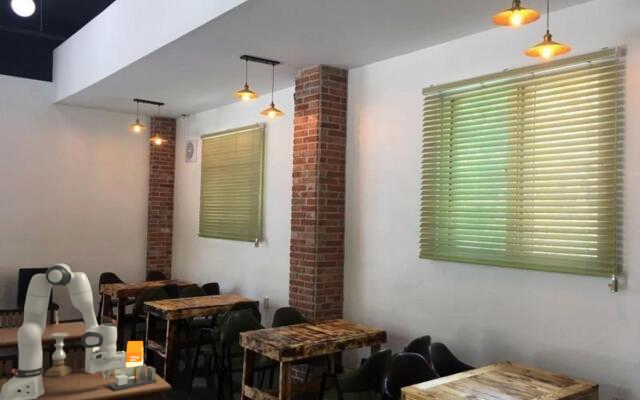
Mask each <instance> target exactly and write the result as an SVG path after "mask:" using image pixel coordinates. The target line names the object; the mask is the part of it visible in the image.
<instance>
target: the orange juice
mask: <svg viewBox="0 0 640 400" xmlns="http://www.w3.org/2000/svg"><path fill="white" fill-rule="evenodd" d="M125 353H126V358H125V360H126V366H125V368H127V367H133V366H139V365H144V341H143V340H139V341H138V340H136V341H135V340H132V341H131V340H129V341H127V346H126V351H125Z"/></svg>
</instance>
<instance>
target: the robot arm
mask: <svg viewBox="0 0 640 400" xmlns="http://www.w3.org/2000/svg"><path fill="white" fill-rule="evenodd" d="M54 286H66V288H67V289H68V293H69V294H68V295H69V298H70V301H71V304H72V306H73V308H76V309H77V310H79V312H81V315H82V317H83V322H84V326H85V331H84V332H83V334H82V335H81V338H80V342H81V345H82V346H83V348H85V349H86V348H94V347H99V350H97V351H94V352H92V353H90V357H91V358H90V359H89V360H88V364H87V371H88V372H89V373H88V374H95V373H100V372H101V374H102V379H103V380H105V379H110V375H111V374H112V372H113V370H116V369H122V368H126V351H124V350H121V351H120V350H119V351H117V340H118V329H117V325H115V324H114V323H111V322H103V323H102V324H99V323H98V321H97V315H96V313H95V312H96V311H95V309H94V299H93V297H94V296H93V290H92V287H91V283H90V280H89V279H88V276H87V274H86V273H85V272H82V271H76V272H73V270H72V267H71V265H70V264H68V263H67V262H58V263H54V264H52V265H51V266H50V267H48V269H47V270H46V272H45V273H38V274H37V273H36V274H34V275H33V276H32V277H31V280H30V281H29V284H28V288H27V292H26V295H25V297H26V298H25V302H24V309H23V310H24V311H23V314H24V315H23V323H22V325H21V326H20V327H19V328H18V331H17V334H16V335H17V336H16V337H17V338H16V339H17V347H18V368H17V369H16V368H12V370H11V373H12V374H13V376H12V378H10V379H9V380H8V381H6V382H5V383H3V385H2V387H1V389H0V400H35V399H38V398H39V397H41V396H42V395H44V394H45V388H44V383H43V382H44V381H43V376H44V365H43V356H44V355H43V346H42V336H43V335H44V333H45V331H46V324H47V316H48V308H49V302H50V296H51V291H52V288H53V287H54ZM94 372H95V373H94ZM106 372H107V374H105V373H106Z"/></svg>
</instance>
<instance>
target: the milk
mask: <svg viewBox="0 0 640 400" xmlns="http://www.w3.org/2000/svg"><path fill="white" fill-rule="evenodd" d="M97 350H99V347H94V348H86V347H85V361H84V362H85V365H84V368H85V369H84V373H88V374H90V373H89V372H88V371H87V364H88V360H89V359H90V358H91V357H90V353H92V352H94V351H97ZM95 373H96V372H94V373H93V374H95Z"/></svg>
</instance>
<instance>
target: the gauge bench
mask: <svg viewBox="0 0 640 400" xmlns="http://www.w3.org/2000/svg"><path fill="white" fill-rule="evenodd" d="M136 370H139V376H138V379H136ZM113 375H114V377H113V380H114V381H113V382H110V383H107V385H108V386H107V387H109V388H110V389H111V390H113V391H114V392H117V391H122V390H127V389H131V388H136V387H137V388H138V387H141V386H147V385H151V384H157V382H158V380H157V379H156V368H155V367H153V366H150V365H148V366H147V364H145V363H143V365H139V366H133V367H127V368H126V367H124V368H120V369H114V373H113ZM119 375H126V376H127V377H132V376H135V379H132V380H127V384H124V385H119V386H118V385H117V384H115V376H119Z"/></svg>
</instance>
